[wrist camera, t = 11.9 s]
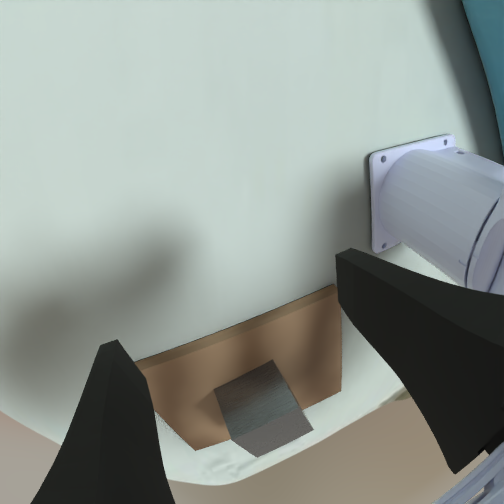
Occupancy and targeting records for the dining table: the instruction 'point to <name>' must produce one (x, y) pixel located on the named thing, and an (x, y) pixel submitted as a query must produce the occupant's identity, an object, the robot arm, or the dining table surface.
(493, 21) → the casserole dish
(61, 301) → the dining table surface
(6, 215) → the dining table surface
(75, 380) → the dining table surface
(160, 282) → the dining table surface
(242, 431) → the square cap
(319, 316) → the post board
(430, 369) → the robot arm
